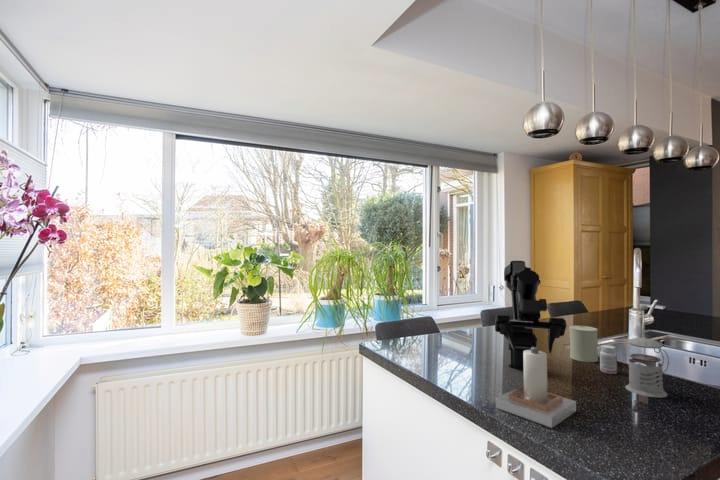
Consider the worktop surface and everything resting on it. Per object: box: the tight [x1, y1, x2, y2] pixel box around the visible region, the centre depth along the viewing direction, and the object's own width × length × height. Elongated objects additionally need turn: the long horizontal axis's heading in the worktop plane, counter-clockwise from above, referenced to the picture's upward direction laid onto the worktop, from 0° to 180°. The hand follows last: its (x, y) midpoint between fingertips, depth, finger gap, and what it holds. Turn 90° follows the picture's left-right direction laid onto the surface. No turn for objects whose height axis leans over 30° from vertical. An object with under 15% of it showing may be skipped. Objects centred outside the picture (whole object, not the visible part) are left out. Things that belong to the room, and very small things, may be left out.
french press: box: [624, 304, 670, 399], centre depth 106 cm, size 10×12×25 cm
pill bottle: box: [599, 344, 618, 375], centre depth 122 cm, size 5×5×8 cm
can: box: [569, 325, 599, 363], centre depth 137 cm, size 9×9×12 cm
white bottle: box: [522, 346, 548, 404], centre depth 94 cm, size 6×6×13 cm
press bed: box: [495, 384, 577, 429], centre depth 93 cm, size 14×14×4 cm
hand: (532, 350), depth 101 cm, fingers open, 9 cm apart
